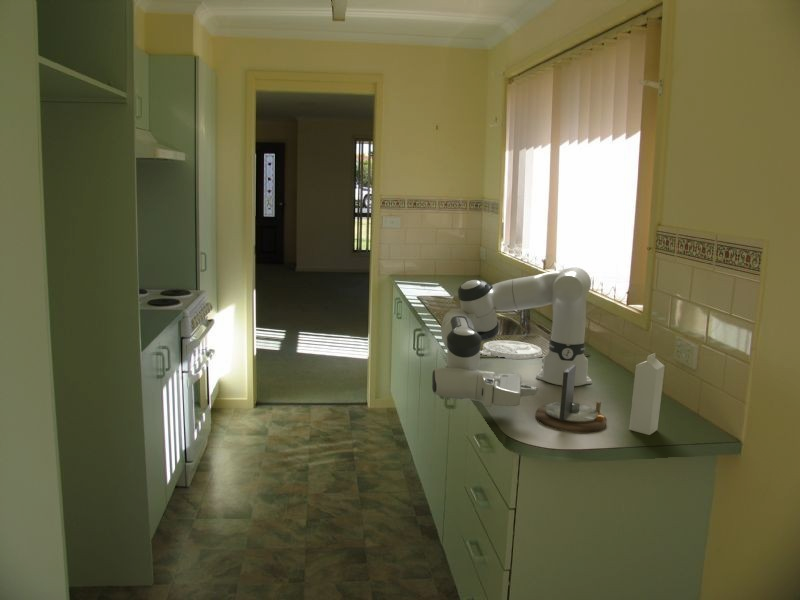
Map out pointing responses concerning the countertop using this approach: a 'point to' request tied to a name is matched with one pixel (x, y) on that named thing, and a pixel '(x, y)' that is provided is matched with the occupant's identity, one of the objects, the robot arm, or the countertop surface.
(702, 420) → the countertop surface
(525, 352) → the medallion
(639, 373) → the milk
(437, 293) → the countertop surface
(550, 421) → the post base
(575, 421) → the grey finned round piece
